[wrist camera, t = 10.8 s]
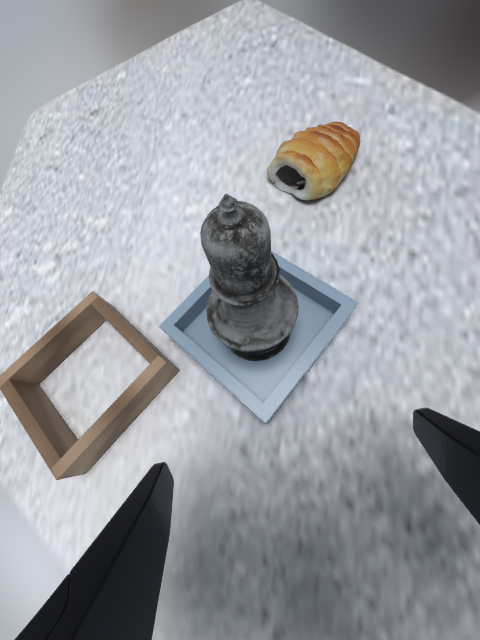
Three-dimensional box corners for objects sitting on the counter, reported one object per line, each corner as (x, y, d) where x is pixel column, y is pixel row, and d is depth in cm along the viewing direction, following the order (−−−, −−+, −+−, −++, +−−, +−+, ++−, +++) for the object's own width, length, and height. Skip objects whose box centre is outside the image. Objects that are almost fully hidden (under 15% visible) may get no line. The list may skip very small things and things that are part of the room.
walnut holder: (85, 473, 17) (56, 480, 15) (25, 385, 21) (-6, 380, 18) (179, 370, 19) (166, 362, 17) (111, 304, 23) (92, 291, 20)
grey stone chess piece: (229, 375, 18) (154, 295, 7) (210, 306, 21) (133, 168, 10) (307, 350, 18) (351, 231, 7) (279, 283, 21) (280, 118, 10)
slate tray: (267, 423, 17) (265, 423, 15) (170, 336, 21) (158, 326, 19) (350, 315, 19) (358, 302, 17) (249, 253, 23) (246, 236, 21)
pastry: (319, 133, 28) (325, 92, 25) (374, 156, 26) (389, 113, 22) (262, 184, 26) (259, 147, 23) (315, 214, 24) (322, 177, 20)
